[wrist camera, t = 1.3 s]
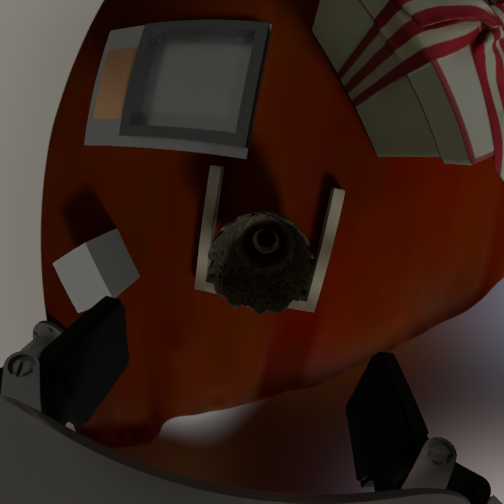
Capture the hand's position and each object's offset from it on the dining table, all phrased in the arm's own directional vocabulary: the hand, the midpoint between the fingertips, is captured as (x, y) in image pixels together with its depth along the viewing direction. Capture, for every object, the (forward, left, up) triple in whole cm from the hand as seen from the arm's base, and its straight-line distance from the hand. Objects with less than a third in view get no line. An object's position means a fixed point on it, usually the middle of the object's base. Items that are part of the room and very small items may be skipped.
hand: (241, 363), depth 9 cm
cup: (0, 0, -18) cm, 18 cm away
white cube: (-6, +17, -18) cm, 26 cm away
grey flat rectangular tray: (+14, +12, -18) cm, 26 cm away
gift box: (+19, -12, -18) cm, 29 cm away
